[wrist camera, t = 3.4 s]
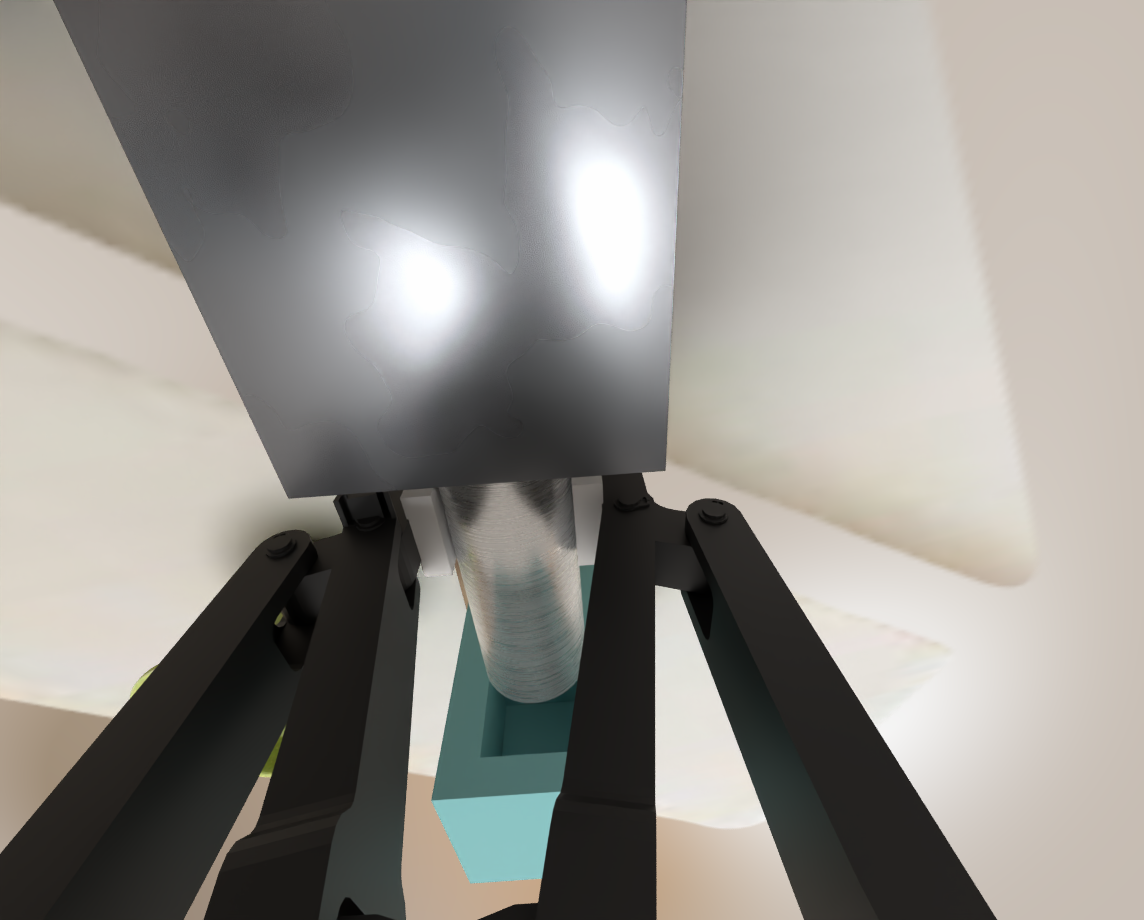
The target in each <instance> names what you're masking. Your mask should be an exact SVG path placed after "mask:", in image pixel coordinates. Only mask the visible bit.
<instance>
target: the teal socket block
mask: <svg viewBox="0 0 1144 920" xmlns="http://www.w3.org/2000/svg"><path fill="white" fill-rule="evenodd" d="M593 570H594V565H584V566H580V579H581V592H582V604H583V617H584V630H585V625H586V618H587V611H588V604H589V597H590V590H591V583H592V576H593ZM576 687H577V681H576V682H575V683H574V685H573V686H572V687H571V688H569V689H568V690H567V691H566V692H564V693H563V694H561V695H560V696H558V697H556V698H553V699H551V700H548V701H544V702H539V703H522V702H517V701H514V700H511V699H509V698H507V697H505V696H503V695H502V694H501V693H499V692H498V691H497V690H496V689H495V688H494V686H493V685H492V683H491V682H490V680H489V677H488V675H487V671H486V667H485V663H484V659H483V656H482V652H481V648H480V644H479V640H478V637H477V633H476V629H475V625H474V621H473V617H472V614H471V610H470V606H469V602H468V607H467V613H466V618H465V623H464V629H463V634H462V639H461V645H460V650H459V655H458V661H457V666H456V671H455V677H454V682H453V687H452V693H451V698H450V703H449V709H448V714H447V719H446V725H445V730H444V735H443V741H442V746H441V751H440V757H439V762H438V768H437V773H436V778H435V784H434V789H433V794H432V800H431V801H432V803H433V805H434V807H435V809H436V811H437V813H438V816H439V818H440V820H441V822H442V824H443V826H444V829H445V831H446V833H447V835H448V837H449V839H450V841H451V843H452V845H453V848H454V850H455V852H456V854H457V856H458V858H459V860H460V862H461V865H462V867H463V869H464V871H465V873H466V875H467V877H468V879H469V881H470V883H483V882H498V881H513V880H527V879H542V875H543V868H544V862H545V855H546V849H547V842H548V836H549V829H550V823H551V818H552V813H553V808H554V804H555V801H556V798H557V797H558V795H559V794H560V791H561V788H562V783H563V777H564V770H565V763H566V756H567V749H568V742H569V735H570V728H571V722H572V715H573V708H574V701H575V694H576Z"/></svg>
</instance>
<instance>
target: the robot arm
mask: <svg viewBox="0 0 1144 920" xmlns="http://www.w3.org/2000/svg"><path fill="white" fill-rule="evenodd" d="M571 479H572V493H573V506H574V518H575V530H576V543H577V555H578V566H584V565H594V570H593V576H592V583H591V590H590V597H589V604H588V611H587V618H586V625H585V632H584V639H583V646H582V652H581V659H580V666H579V673H578V680H577V687H576V694H575V701H574V708H573V715H572V722H571V728H570V735H569V742H568V749H567V756H566V763H565V770H564V777H563V783H562V788H561V791H560V794H559V795H558V797H557V798H556V801H555V804H554V808H553V813H552V818H551V823H550V829H549V836H548V842H547V849H546V855H545V862H544V868H543V875H542V881H541V889H540V894H539V901H538V903H531V904H516V905H512V906H510V907H507V908H505V909H502V910H500V911H498V912H496V913H493V914H491V915H488V916H486V917H483V918H481V919H478V920H656V807H655V585H658V586H663V587H668V588H673V589H679V590H681V594H682V597H683V600H684V602H685V605H686V608H687V610H688V613H689V615H690V618H691V621H692V623H693V626H694V629H695V631H696V634H697V637H698V639H699V642H700V645H701V647H702V650H703V653H704V655H705V658H706V661H707V663H708V666H709V669H710V671H711V674H712V677H713V679H714V682H715V684H716V687H717V690H718V692H719V695H720V698H721V700H722V703H723V706H724V708H725V711H726V714H727V716H728V719H729V722H730V724H731V727H732V730H733V732H734V735H735V738H736V740H737V743H738V746H739V748H740V751H741V753H742V756H743V759H744V761H745V764H746V767H747V769H748V772H749V775H750V777H751V780H752V783H753V785H754V788H755V791H756V793H757V796H758V799H759V801H760V804H761V807H762V809H763V812H764V815H765V817H766V820H767V823H768V825H769V828H770V830H771V833H772V836H773V838H774V841H775V844H776V846H777V849H778V852H779V854H780V857H781V860H782V862H783V865H784V867H785V870H786V873H787V875H788V878H789V881H790V884H791V886H792V889H793V892H794V894H795V897H796V899H797V902H798V905H799V907H800V910H801V913H802V915H803V918H804V920H997V919H996V917H995V916H994V914H993V912H992V911H991V909H990V908H989V906H988V905H987V903H986V902H985V900H984V898H983V897H982V895H981V893H980V892H979V890H978V889H977V887H976V886H975V884H974V882H973V881H972V879H971V878H970V876H969V874H968V873H967V871H966V870H965V868H964V866H963V865H962V864H961V862H960V860H959V859H958V857H957V855H956V854H955V852H954V851H953V849H952V847H951V846H950V844H949V843H948V841H947V840H946V838H945V836H944V835H943V833H942V831H941V830H940V829H939V827H938V825H937V824H936V822H935V820H934V819H933V817H932V816H931V814H930V812H929V811H928V809H927V808H926V806H925V805H924V803H923V801H922V800H921V798H920V797H919V795H918V793H917V792H916V790H915V789H914V787H913V786H912V784H911V782H910V781H909V779H908V778H907V776H906V774H905V773H904V771H903V770H902V768H901V767H900V765H899V763H898V762H897V760H896V758H895V757H894V755H893V754H892V752H891V750H890V749H889V747H888V746H887V744H886V743H885V741H884V739H883V738H882V736H881V735H880V733H879V731H878V730H877V728H876V727H875V725H874V723H873V722H872V720H871V719H870V717H869V716H868V714H867V712H866V711H865V709H864V708H863V706H862V704H861V703H860V701H859V700H858V698H857V696H856V695H855V693H854V692H853V690H852V689H851V687H850V685H849V684H848V682H847V681H846V679H845V677H844V676H843V674H842V673H841V671H840V669H839V668H838V666H837V665H836V663H835V662H834V660H833V658H832V657H831V655H830V654H829V652H828V650H827V649H826V647H825V646H824V644H823V642H822V641H821V639H820V638H819V636H818V635H817V633H816V631H815V630H814V628H813V627H812V625H811V623H810V622H809V620H808V619H807V617H806V615H805V614H804V612H803V611H802V609H801V608H800V606H799V604H798V603H797V601H796V600H795V598H794V596H793V595H792V593H791V592H790V590H789V588H788V587H787V585H786V584H785V582H784V581H783V579H782V577H781V576H780V575H779V573H778V571H777V569H776V568H775V566H774V565H773V563H772V561H771V560H770V558H769V557H768V555H767V553H766V552H765V550H764V549H763V547H762V546H761V544H760V542H759V541H758V539H757V538H756V536H755V534H754V533H753V531H752V530H751V528H750V527H749V525H748V523H747V522H746V520H745V519H744V517H743V515H742V514H741V512H740V511H739V510H738V509H737V508H736V507H735V506H734V505H732V504H730V503H728V502H726V501H723V500H719V499H701V500H697V501H695V502H693V503H692V504H690V505H689V506H688V508H687V510H686V512H685V511H678V510H672V509H668V508H665V507H662V506H660V505H658V504H656V503H655V502H654V500H653V498H652V497H651V496H650V495H649V494H648V493H647V490H646V486H645V483H644V479H643V475H642V473H629V474H615V475H601V476H588V477H574V478H571ZM333 503H334V505H335V507H336V510H337V512H338V515H339V517H340V520H341V522H342V524H343V527H344V528H343V531H342V533H341V534H338V535H335V536H332V537H329V538H325V539H321V540H318V541H314V542H312V539H311V537H310V535H309V534H308V533H306V532H305V531H301V530H291V531H285V532H281V533H279V534H276V535H273V536H272V537H270V538H268V539H267V540H265V541H263V542H262V543H261V544H260V545H259V546H258V547H257V548H256V549H255V550H254V551H253V552H252V553H251V555H250V556H249V557H248V558H247V559H246V561H245V562H244V563H243V564H242V565H241V567H240V568H239V569H238V570H237V571H236V573H235V574H234V575H233V576H232V577H231V579H230V580H229V581H228V582H227V583H226V585H225V586H224V587H223V588H222V589H221V591H220V592H219V593H218V594H217V595H216V596H215V598H214V599H213V600H212V601H211V602H210V604H209V605H208V606H207V607H206V608H205V610H204V611H203V612H202V613H201V614H200V616H199V617H198V618H197V619H196V620H195V622H194V623H193V624H192V625H191V626H190V628H189V629H188V630H187V631H186V632H185V634H184V635H183V636H182V637H181V638H180V640H179V641H178V642H177V643H176V644H175V646H174V647H173V648H172V649H171V650H170V651H169V653H168V654H167V655H166V656H165V657H164V659H163V660H162V661H161V662H160V663H159V665H158V666H157V667H156V668H155V669H154V671H153V672H152V673H151V674H150V675H149V677H148V678H147V679H146V680H145V681H144V683H143V684H142V685H141V686H140V687H139V689H138V690H137V691H136V692H135V693H134V695H133V696H132V697H131V698H130V699H129V700H128V702H127V703H126V704H125V705H124V706H123V708H122V709H121V710H120V711H119V712H118V714H117V715H116V716H115V717H114V718H113V720H112V721H111V722H110V724H108V726H107V727H106V728H105V729H104V730H103V732H102V733H101V734H100V735H99V736H98V738H97V739H96V740H95V741H94V742H93V744H92V745H91V746H90V747H89V748H88V750H87V751H86V752H85V753H84V754H83V755H82V757H81V758H80V759H79V761H78V762H77V763H76V764H75V765H74V766H73V767H72V769H71V770H70V771H69V772H68V773H67V775H66V776H65V777H64V778H63V780H62V781H61V782H60V783H59V784H58V785H57V787H56V788H55V789H54V790H53V791H52V793H51V794H50V795H49V796H48V797H47V799H46V800H45V801H44V802H43V803H42V805H41V806H40V807H39V808H38V809H37V811H36V812H35V813H34V814H33V815H32V817H31V818H30V819H29V820H28V821H27V822H26V824H25V825H24V826H23V827H22V828H21V830H20V831H19V832H18V833H17V834H16V836H15V837H14V838H13V839H12V841H11V842H10V843H9V844H8V845H7V846H6V848H5V849H4V850H3V851H2V852H1V854H0V920H184V918H185V916H186V914H187V912H188V910H189V908H190V906H191V904H192V903H193V901H194V899H195V897H196V895H197V893H198V891H199V889H200V887H201V885H202V883H203V882H204V880H205V878H206V876H207V874H208V872H209V870H210V868H211V866H212V865H213V863H214V861H215V859H216V857H217V855H218V853H219V851H220V849H221V847H222V846H223V844H224V842H225V840H226V838H227V836H228V834H229V832H230V830H231V829H232V826H233V825H234V823H235V821H236V819H237V817H238V815H239V813H240V811H241V810H242V807H243V806H244V804H245V802H246V800H247V798H248V796H249V794H250V792H251V791H252V788H253V787H254V785H255V783H256V781H257V779H258V777H259V775H260V773H261V772H262V770H263V768H264V766H265V764H266V762H267V760H268V758H269V756H270V754H271V753H272V751H273V749H274V747H275V745H276V743H277V741H278V739H279V737H280V735H281V734H282V732H283V730H284V728H285V731H284V734H283V738H282V741H281V745H280V748H279V751H278V755H277V758H276V762H275V765H274V769H273V772H272V776H271V779H270V783H269V786H268V790H267V793H266V796H265V800H264V804H263V806H262V810H261V813H260V817H259V819H258V822H257V825H256V827H255V828H254V830H253V831H252V832H251V834H249V835H247V836H245V837H244V838H242V839H240V840H238V841H236V842H235V844H234V845H233V846H232V848H231V849H230V851H229V852H228V853H227V855H226V857H225V860H224V862H223V864H222V867H221V869H220V871H219V874H218V877H217V880H216V884H215V886H214V890H213V893H212V896H211V899H210V902H209V905H208V908H207V911H206V914H205V917H204V920H406V915H405V914H406V913H405V901H404V895H403V888H402V880H401V861H402V847H403V832H404V818H405V804H406V790H407V775H408V761H409V746H410V732H411V717H412V703H413V688H414V674H415V659H416V645H417V630H418V616H419V602H420V585H419V581H418V578H417V572H418V569H419V566H420V563H421V566H422V569H423V572H424V575H425V577H432V576H446V575H453V570H454V566H455V562H456V558H457V556H456V553H455V549H454V545H453V541H452V537H451V533H450V530H449V526H448V522H447V518H446V514H445V510H444V507H443V503H442V499H441V495H440V491H439V488H425V489H411V490H398V491H384V492H370V493H357V494H343V495H337V496H336V498H335V499H334V501H333ZM280 613H282V615H283V617H282V618H281V620H280V622H279V623H278V624H277V625H275V621H276V619H277V617H278V616H279V614H280ZM285 726H286V727H285Z"/></svg>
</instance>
